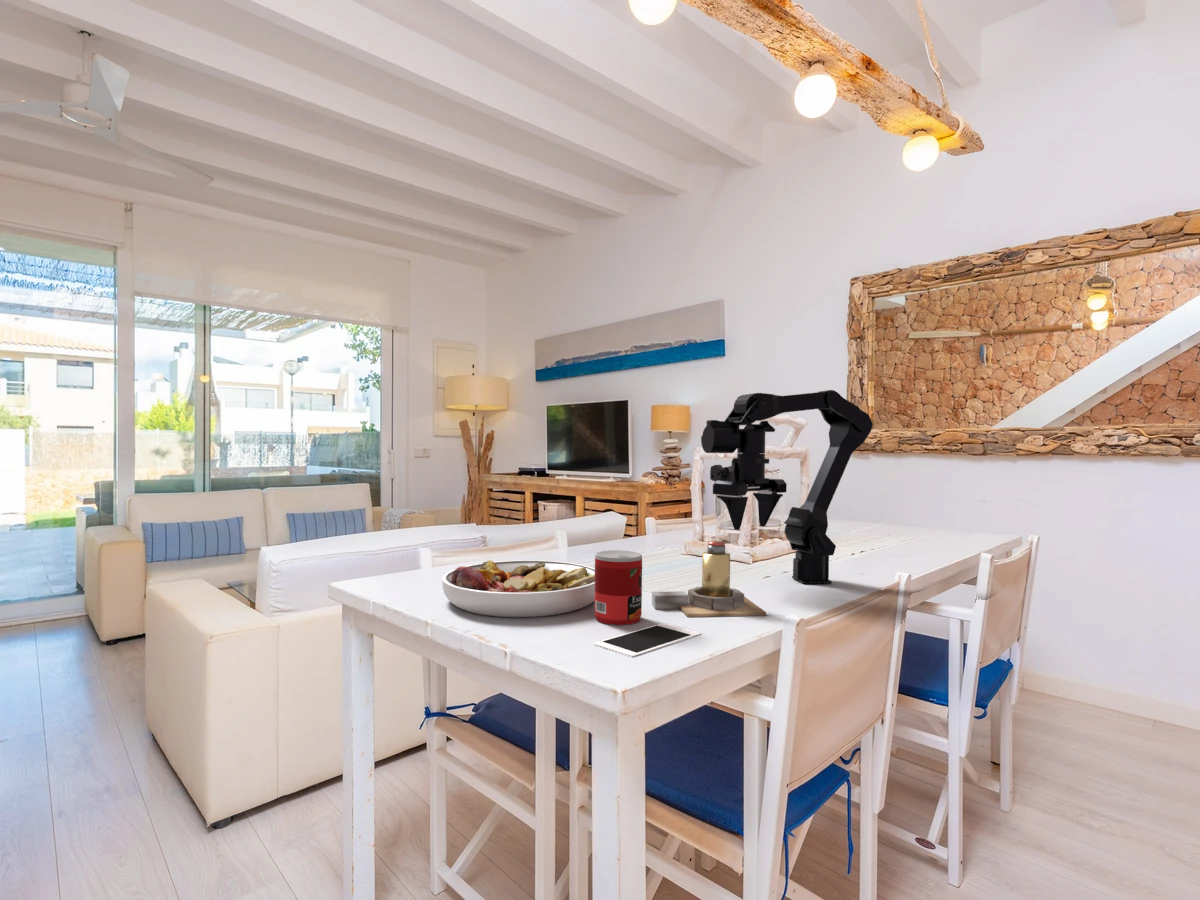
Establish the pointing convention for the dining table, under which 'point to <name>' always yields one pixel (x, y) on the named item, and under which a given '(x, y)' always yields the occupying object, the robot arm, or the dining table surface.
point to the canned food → (618, 587)
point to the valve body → (716, 570)
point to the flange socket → (706, 603)
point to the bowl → (520, 588)
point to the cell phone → (647, 639)
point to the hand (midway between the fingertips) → (749, 528)
